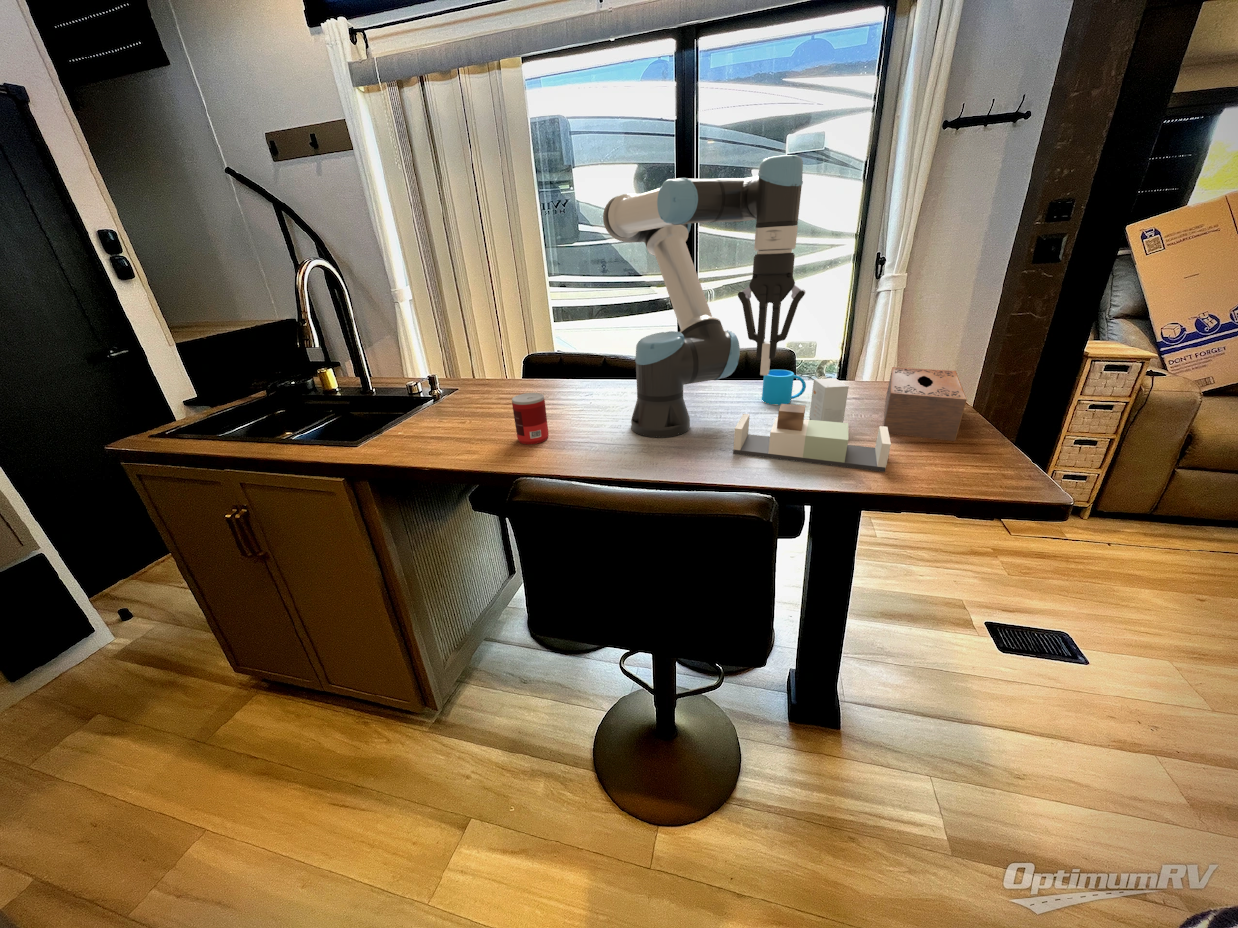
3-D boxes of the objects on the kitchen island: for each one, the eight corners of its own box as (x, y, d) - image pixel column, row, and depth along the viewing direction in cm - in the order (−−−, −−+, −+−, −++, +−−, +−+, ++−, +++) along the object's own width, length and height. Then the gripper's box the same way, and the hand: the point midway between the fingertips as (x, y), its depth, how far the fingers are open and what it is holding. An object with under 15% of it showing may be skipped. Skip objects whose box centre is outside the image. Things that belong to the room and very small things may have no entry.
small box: (842, 428, 116) (849, 386, 111) (819, 428, 116) (825, 387, 111) (830, 417, 123) (836, 377, 118) (808, 417, 123) (813, 378, 119)
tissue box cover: (885, 402, 132) (892, 367, 128) (946, 407, 126) (955, 370, 121) (882, 433, 112) (890, 393, 108) (955, 442, 105) (966, 399, 101)
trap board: (733, 453, 105) (734, 428, 102) (741, 437, 113) (743, 413, 110) (884, 472, 93) (890, 444, 91) (882, 452, 102) (887, 426, 99)
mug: (764, 405, 134) (766, 377, 130) (759, 396, 141) (761, 370, 138) (807, 404, 133) (811, 376, 129) (800, 396, 140) (803, 369, 137)
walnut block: (776, 428, 101) (778, 410, 99) (779, 420, 105) (781, 403, 103) (801, 430, 99) (803, 413, 97) (803, 423, 103) (805, 405, 102)
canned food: (554, 435, 120) (550, 393, 116) (537, 446, 114) (531, 403, 109) (530, 431, 123) (524, 391, 119) (511, 443, 117) (504, 400, 112)
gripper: (736, 254, 89) (730, 376, 99) (809, 251, 84) (795, 380, 94) (743, 253, 95) (737, 368, 105) (812, 250, 90) (798, 371, 100)
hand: (764, 373), depth 100 cm, fingers closed
